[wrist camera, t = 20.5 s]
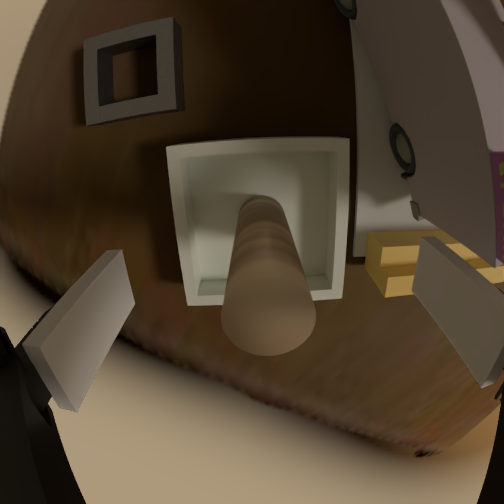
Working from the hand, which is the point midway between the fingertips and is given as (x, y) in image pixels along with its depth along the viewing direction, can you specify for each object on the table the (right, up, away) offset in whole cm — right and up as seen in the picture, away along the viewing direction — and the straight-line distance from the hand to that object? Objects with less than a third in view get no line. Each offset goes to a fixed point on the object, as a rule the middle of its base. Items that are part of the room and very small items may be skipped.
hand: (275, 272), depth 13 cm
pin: (0, +3, +9) cm, 9 cm away
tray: (0, +3, +9) cm, 10 cm away
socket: (-9, +13, +5) cm, 17 cm away
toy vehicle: (+10, +14, +5) cm, 18 cm away
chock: (+14, +1, +10) cm, 17 cm away
